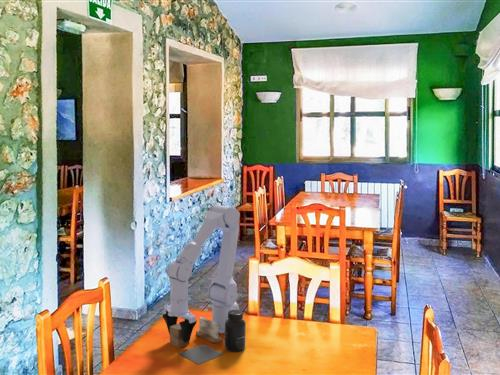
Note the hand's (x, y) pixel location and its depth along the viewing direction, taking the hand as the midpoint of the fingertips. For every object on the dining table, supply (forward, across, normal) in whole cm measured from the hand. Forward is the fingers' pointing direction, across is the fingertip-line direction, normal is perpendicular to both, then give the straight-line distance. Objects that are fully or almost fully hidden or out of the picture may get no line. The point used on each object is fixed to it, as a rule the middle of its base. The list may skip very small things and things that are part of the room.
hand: (179, 337), depth 169 cm
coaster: (+2, +11, 0) cm, 11 cm away
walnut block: (+2, 0, 0) cm, 2 cm away
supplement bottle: (+2, +15, +11) cm, 19 cm away
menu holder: (+2, +3, +10) cm, 11 cm away
